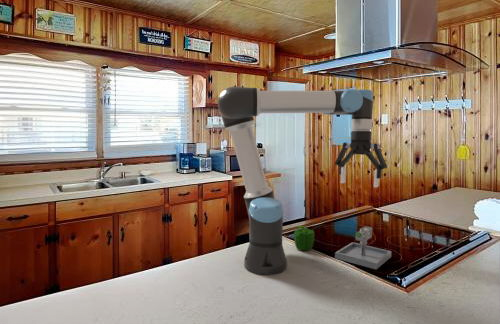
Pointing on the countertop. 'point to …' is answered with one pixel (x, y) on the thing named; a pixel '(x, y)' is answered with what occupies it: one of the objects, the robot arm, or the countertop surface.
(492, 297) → the countertop surface
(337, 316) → the countertop surface
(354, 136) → the robot arm
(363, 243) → the mechanical component
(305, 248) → the bell pepper
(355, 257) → the tray
